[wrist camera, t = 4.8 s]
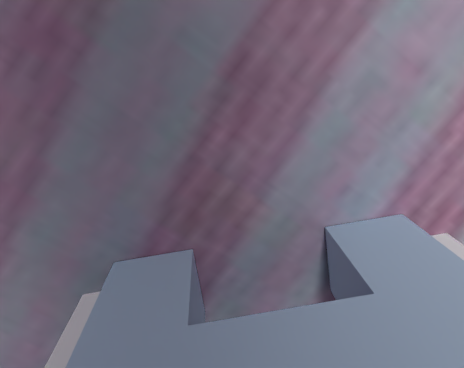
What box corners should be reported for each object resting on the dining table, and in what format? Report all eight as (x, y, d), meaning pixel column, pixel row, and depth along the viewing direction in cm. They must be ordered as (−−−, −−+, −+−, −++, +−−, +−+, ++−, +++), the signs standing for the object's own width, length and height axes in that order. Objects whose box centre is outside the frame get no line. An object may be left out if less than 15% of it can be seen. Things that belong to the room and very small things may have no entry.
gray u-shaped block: (130, 324, 17) (36, 652, 8) (113, 262, 16) (-16, 544, 7) (404, 277, 17) (648, 538, 8) (402, 214, 16) (675, 420, 7)
